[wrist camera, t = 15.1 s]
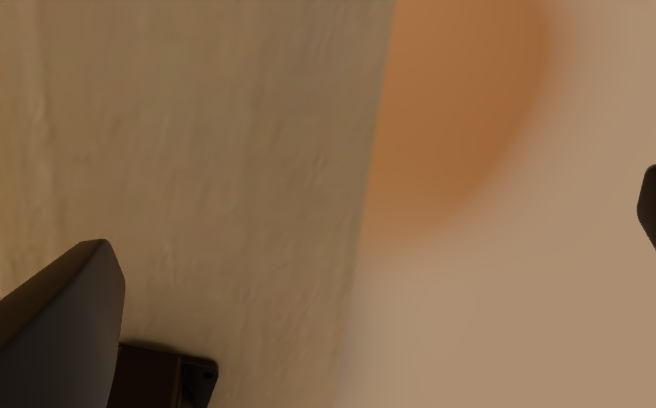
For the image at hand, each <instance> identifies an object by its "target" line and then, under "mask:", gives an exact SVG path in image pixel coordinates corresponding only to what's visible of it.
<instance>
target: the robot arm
mask: <svg viewBox="0 0 656 408" xmlns="http://www.w3.org/2000/svg"><path fill="white" fill-rule="evenodd" d="M637 216H638V219H639V221H640V223H641V225H642V227H643V228H644V230H645V232H646V234H647V236H648V237H649V239H650V241H651V243H652V244H653V246H654V248H655V250H656V164H654V165H652V166H650V167H649V168H648V169H647V170H646V172H645V175H644V179H643V183H642V187H641V192H640V196H639V200H638V204H637ZM124 298H125V280H124V276H123V273H122V271H121V268H120V266H119V263H118V261H117V258H116V256H115V253H114V251H113V248H112V246H111V244H110V243H109V241H107V240H106V239H95V240H87V241H82V242H79V243H78V244H77V245H75V246H74V247H72V248H71V249H70V250H68V251H67V252H66V253H64V254H63V255H62V256H60V257H59V258H57V259H56V260H55V261H53V262H52V263H51V264H49V265H48V266H47V267H45V268H44V269H42V270H41V271H40V272H38V273H37V274H36V275H34V276H33V277H32V278H30V279H29V280H27V281H26V282H25V283H23V284H22V285H21V286H19V287H18V288H17V289H15V290H14V291H12V292H11V293H10V294H8V295H7V296H6V297H4V298H3V299H2V300H0V408H207V406H208V403H209V401H210V398H211V395H212V392H213V390H214V387H215V384H216V381H217V378H218V372H219V367H218V365H217V364H216V363H215V362H213V361H210V360H204V359H198V358H193V357H187V356H181V355H176V354H170V353H164V352H158V351H153V350H147V349H141V348H136V347H130V346H124V345H119V337H120V329H121V322H122V314H123V306H124ZM204 371H211V372H210V373H205V372H204Z"/></svg>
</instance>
